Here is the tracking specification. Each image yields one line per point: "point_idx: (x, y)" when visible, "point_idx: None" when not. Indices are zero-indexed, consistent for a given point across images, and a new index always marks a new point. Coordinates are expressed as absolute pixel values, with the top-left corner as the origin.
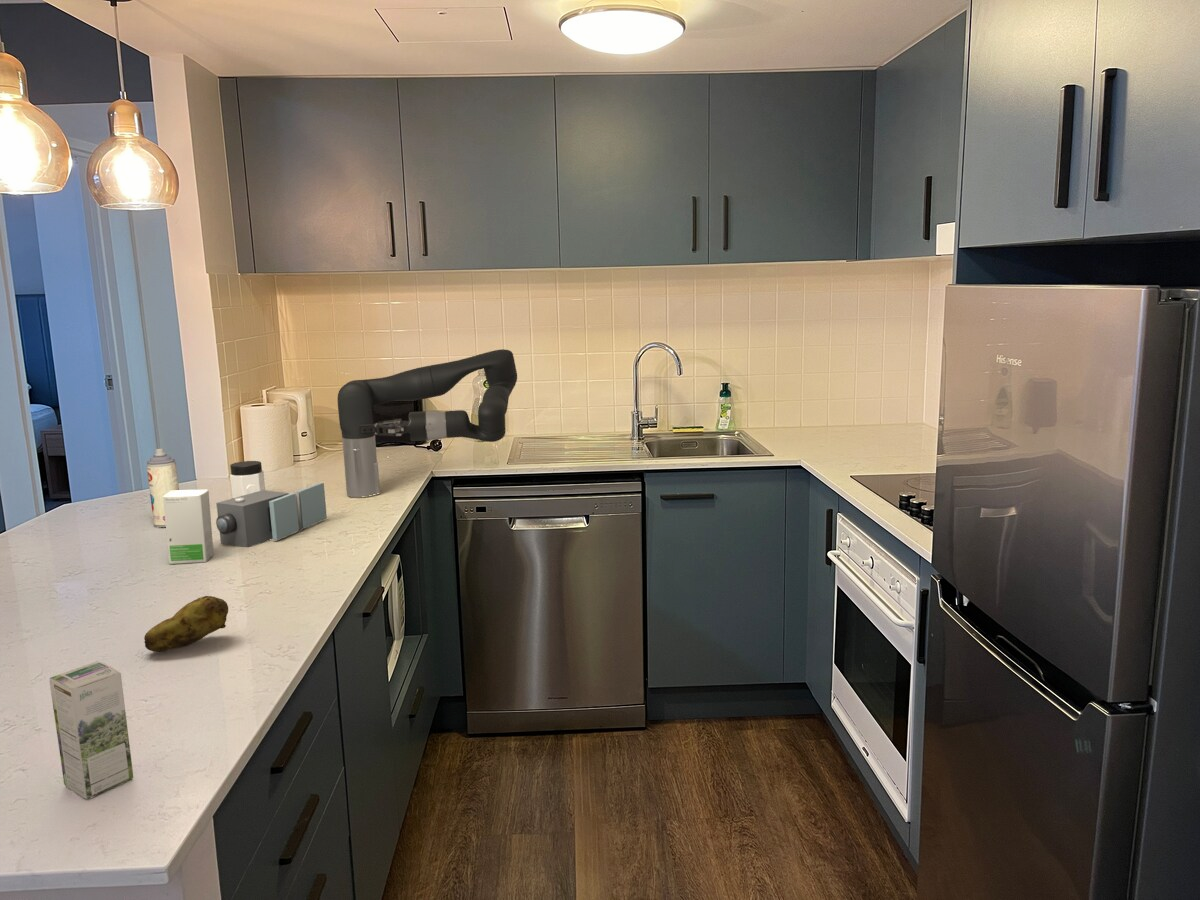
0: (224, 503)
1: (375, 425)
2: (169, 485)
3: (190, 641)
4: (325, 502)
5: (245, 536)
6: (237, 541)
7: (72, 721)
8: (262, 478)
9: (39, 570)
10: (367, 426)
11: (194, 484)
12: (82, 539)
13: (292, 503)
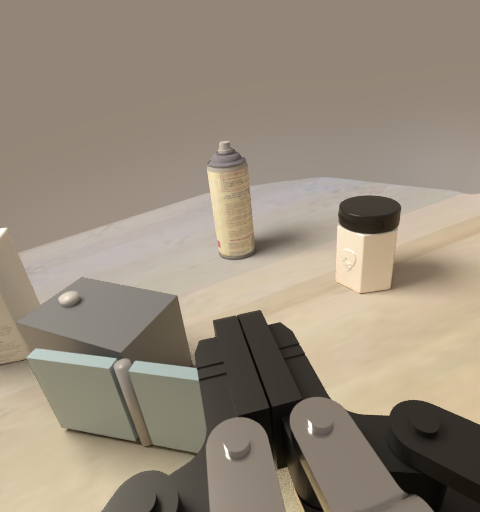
0: (67, 288)
1: (207, 448)
2: (217, 202)
3: None
4: None
5: None
6: None
7: None
8: (384, 246)
9: (66, 246)
10: (225, 372)
11: (449, 195)
12: (181, 225)
13: (101, 384)
